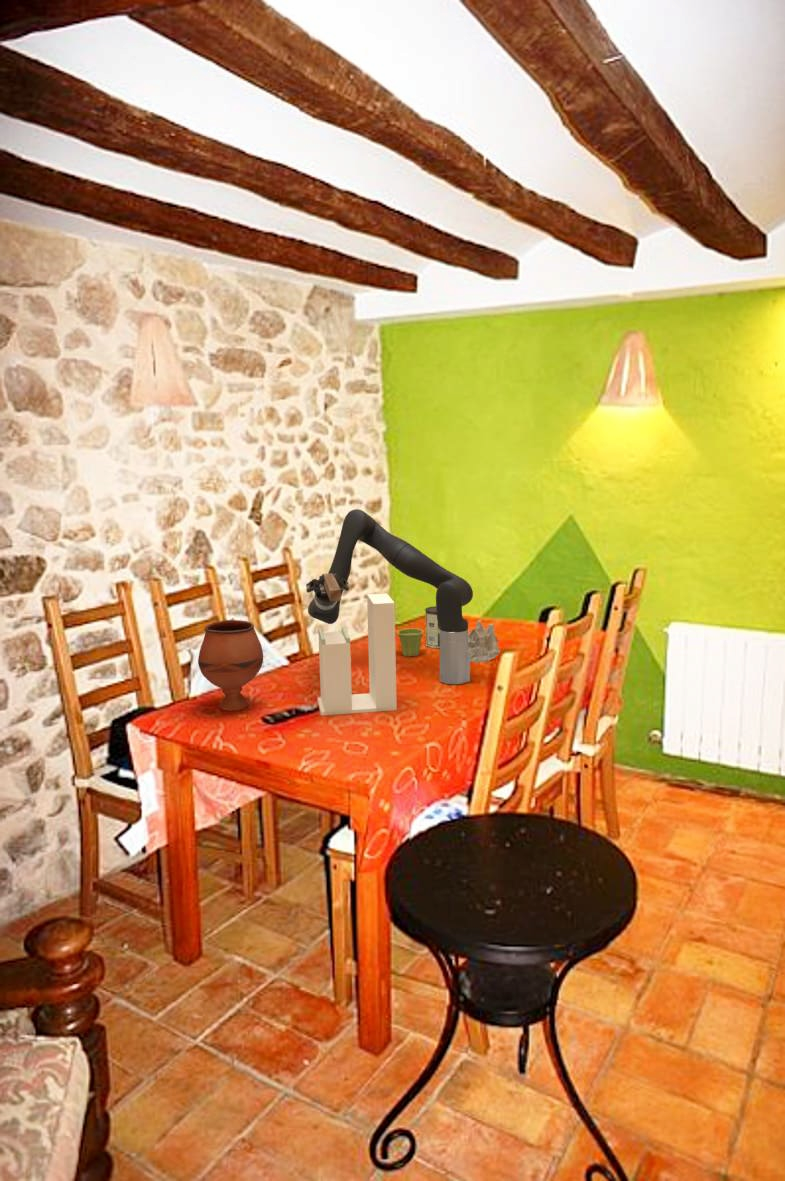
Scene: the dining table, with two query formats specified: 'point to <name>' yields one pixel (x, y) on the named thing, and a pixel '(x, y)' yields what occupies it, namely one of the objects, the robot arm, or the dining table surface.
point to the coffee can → (432, 628)
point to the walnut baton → (332, 587)
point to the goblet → (230, 659)
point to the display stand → (381, 664)
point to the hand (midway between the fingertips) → (329, 577)
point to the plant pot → (410, 641)
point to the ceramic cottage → (482, 643)
